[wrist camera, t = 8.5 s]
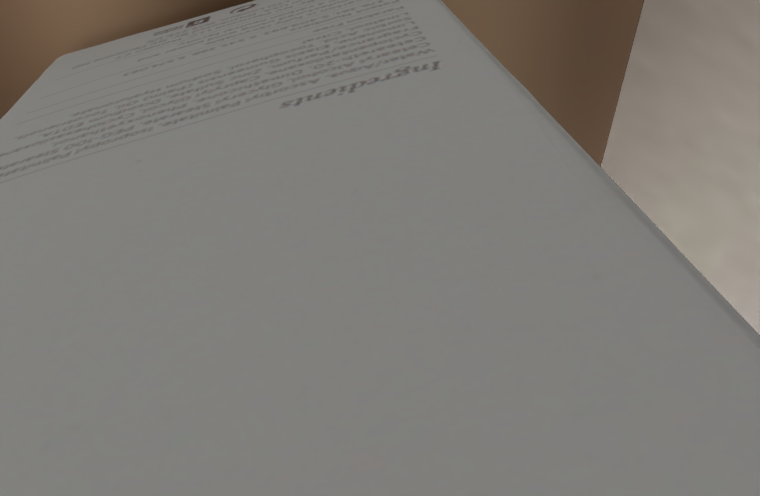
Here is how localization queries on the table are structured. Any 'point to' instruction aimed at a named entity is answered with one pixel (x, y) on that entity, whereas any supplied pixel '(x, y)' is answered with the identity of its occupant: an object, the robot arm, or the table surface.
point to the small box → (343, 278)
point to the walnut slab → (468, 3)
